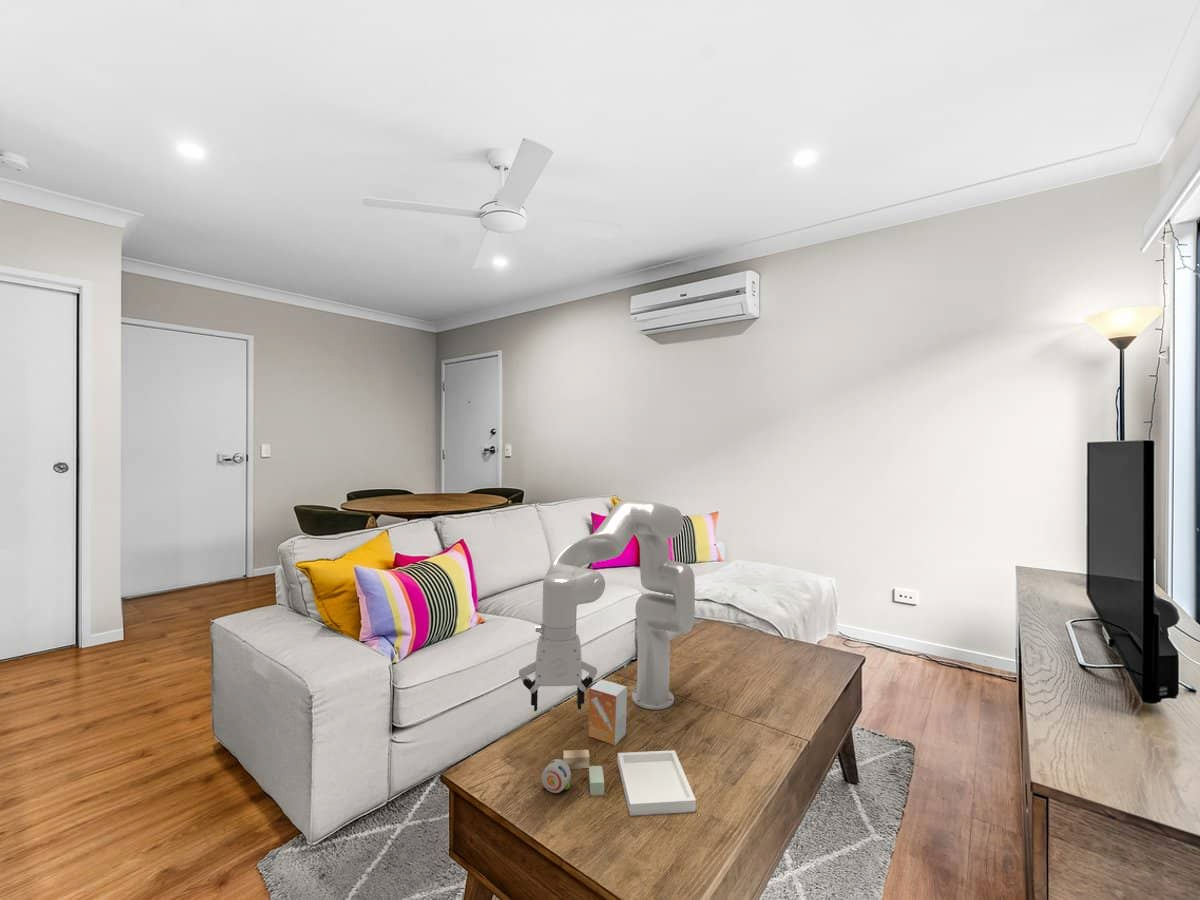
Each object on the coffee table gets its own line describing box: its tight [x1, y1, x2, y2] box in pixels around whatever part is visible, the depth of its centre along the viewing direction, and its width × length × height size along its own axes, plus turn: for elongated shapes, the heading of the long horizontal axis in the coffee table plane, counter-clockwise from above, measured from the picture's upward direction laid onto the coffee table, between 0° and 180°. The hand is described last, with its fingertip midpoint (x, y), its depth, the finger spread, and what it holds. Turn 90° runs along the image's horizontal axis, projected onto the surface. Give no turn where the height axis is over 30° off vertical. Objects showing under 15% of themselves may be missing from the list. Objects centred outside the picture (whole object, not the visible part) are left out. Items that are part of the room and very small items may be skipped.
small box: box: [587, 678, 628, 746], centre depth 142 cm, size 8×6×13 cm
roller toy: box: [541, 758, 572, 794], centre depth 120 cm, size 4×6×6 cm
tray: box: [617, 749, 697, 817], centre depth 122 cm, size 18×14×2 cm
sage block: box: [588, 765, 605, 796], centre depth 122 cm, size 6×3×3 cm, turn 5°
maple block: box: [562, 749, 590, 770], centre depth 129 cm, size 6×3×3 cm, turn 96°
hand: (557, 707), depth 120 cm, fingers open, 9 cm apart
